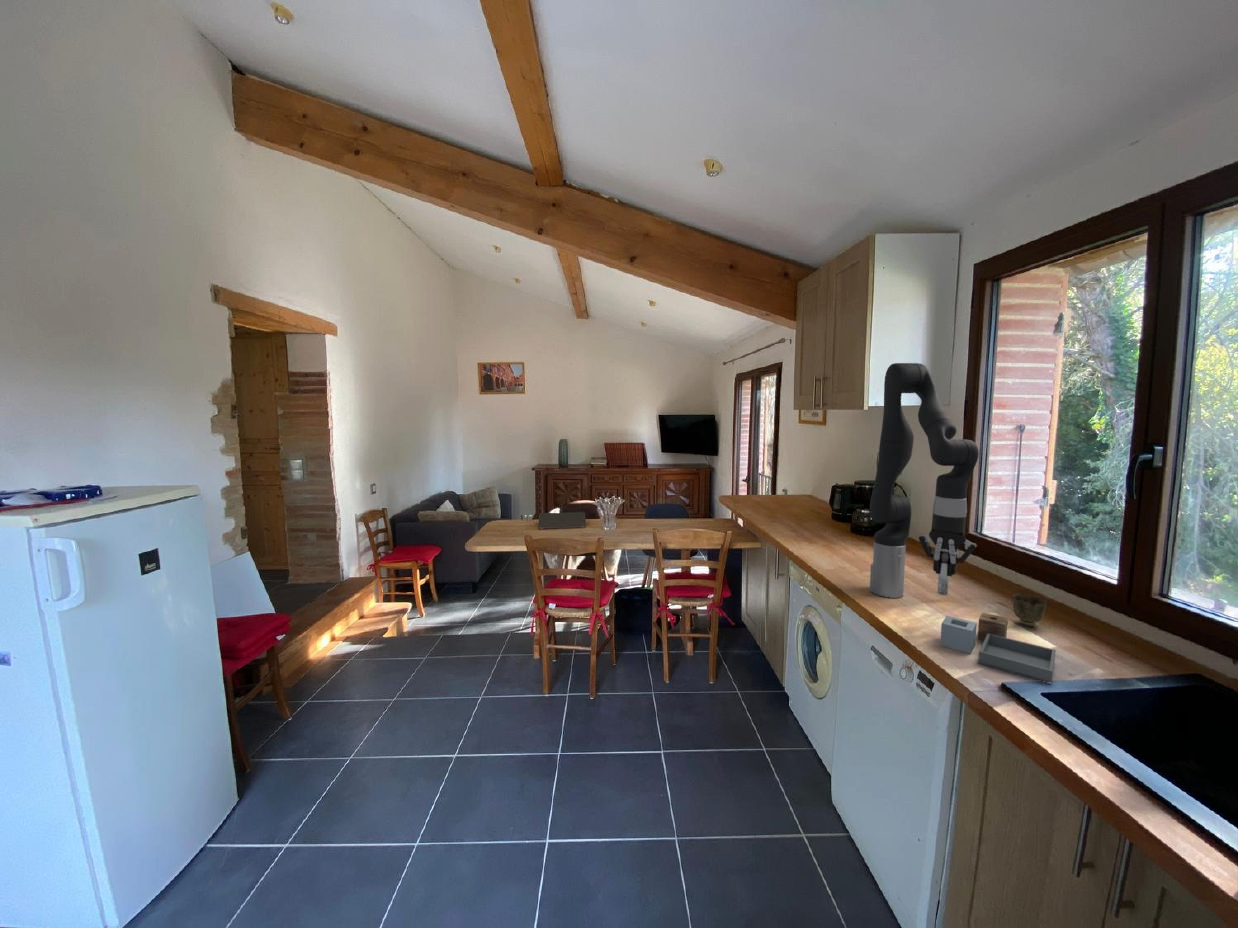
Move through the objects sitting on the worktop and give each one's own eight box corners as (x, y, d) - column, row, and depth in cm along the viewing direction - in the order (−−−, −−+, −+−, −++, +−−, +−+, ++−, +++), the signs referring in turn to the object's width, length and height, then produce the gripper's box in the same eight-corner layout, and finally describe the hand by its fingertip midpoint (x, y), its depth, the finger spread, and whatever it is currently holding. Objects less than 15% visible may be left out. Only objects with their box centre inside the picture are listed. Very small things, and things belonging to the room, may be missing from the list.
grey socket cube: (940, 645, 126) (941, 623, 126) (945, 636, 131) (946, 615, 130) (970, 653, 122) (972, 630, 121) (975, 644, 126) (976, 622, 126)
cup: (1041, 622, 139) (1043, 595, 138) (1047, 633, 132) (1050, 604, 132) (1008, 617, 142) (1010, 591, 142) (1013, 627, 136) (1015, 599, 135)
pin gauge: (936, 593, 135) (939, 551, 133) (938, 591, 136) (941, 549, 135) (946, 596, 133) (950, 553, 132) (948, 593, 135) (952, 551, 133)
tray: (978, 663, 117) (979, 651, 117) (986, 644, 127) (987, 633, 126) (1051, 684, 108) (1052, 671, 108) (1054, 661, 118) (1055, 649, 117)
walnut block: (977, 640, 129) (978, 618, 128) (980, 633, 133) (982, 612, 132) (1003, 647, 125) (1005, 624, 125) (1006, 639, 129) (1007, 618, 128)
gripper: (916, 511, 134) (911, 571, 136) (978, 519, 124) (972, 584, 127) (923, 506, 139) (918, 565, 142) (983, 514, 130) (977, 576, 132)
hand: (944, 574), depth 134 cm, fingers closed on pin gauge, 2 cm apart
